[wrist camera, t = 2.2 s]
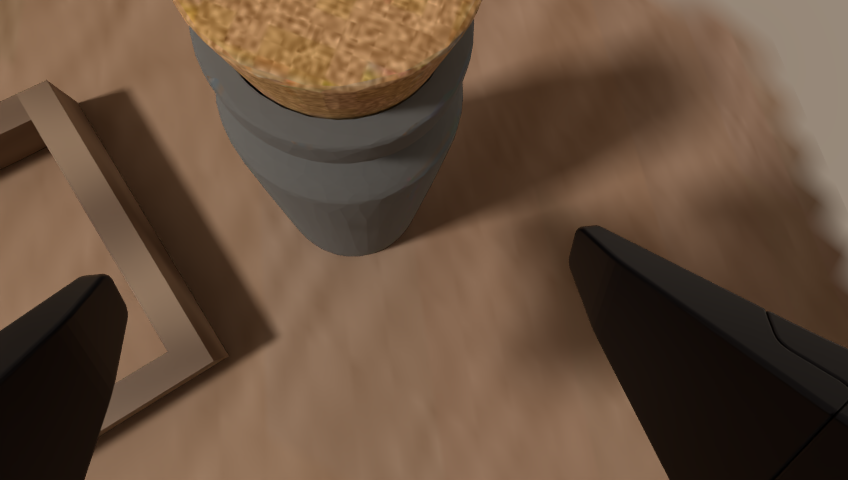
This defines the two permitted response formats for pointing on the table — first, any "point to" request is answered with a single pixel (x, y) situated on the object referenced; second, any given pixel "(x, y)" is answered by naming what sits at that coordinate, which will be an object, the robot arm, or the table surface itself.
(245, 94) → the bottle
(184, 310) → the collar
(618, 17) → the table surface
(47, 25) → the table surface
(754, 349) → the robot arm
